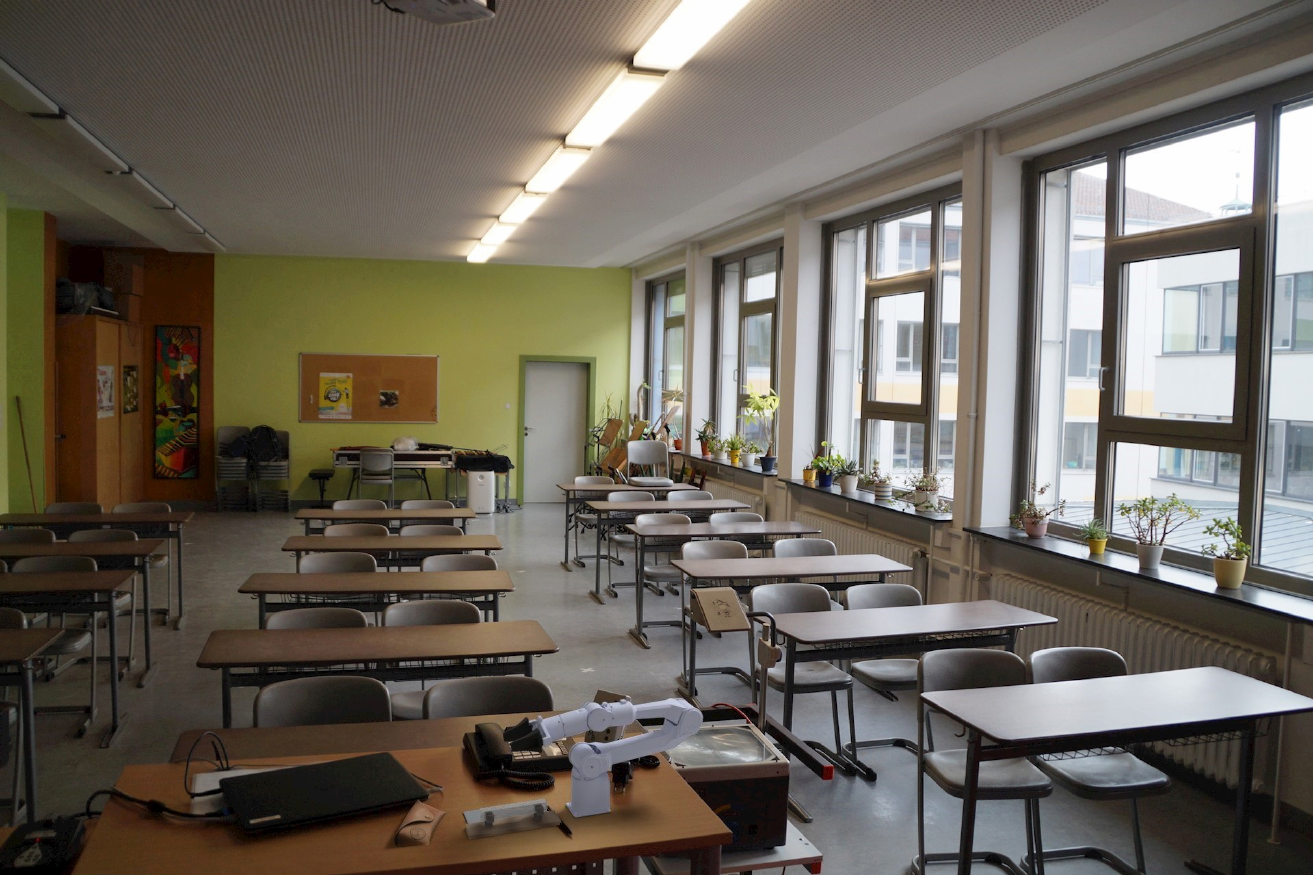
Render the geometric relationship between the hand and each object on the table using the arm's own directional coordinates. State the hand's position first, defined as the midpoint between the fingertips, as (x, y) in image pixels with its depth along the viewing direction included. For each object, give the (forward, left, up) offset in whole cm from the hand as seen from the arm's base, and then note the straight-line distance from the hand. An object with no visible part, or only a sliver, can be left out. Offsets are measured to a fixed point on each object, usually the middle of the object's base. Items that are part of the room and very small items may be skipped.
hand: (507, 742), depth 217 cm
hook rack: (-1, +3, -20) cm, 20 cm away
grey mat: (-1, -5, -20) cm, 20 cm away
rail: (-1, +3, -17) cm, 17 cm away
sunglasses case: (+20, -4, -20) cm, 29 cm away
